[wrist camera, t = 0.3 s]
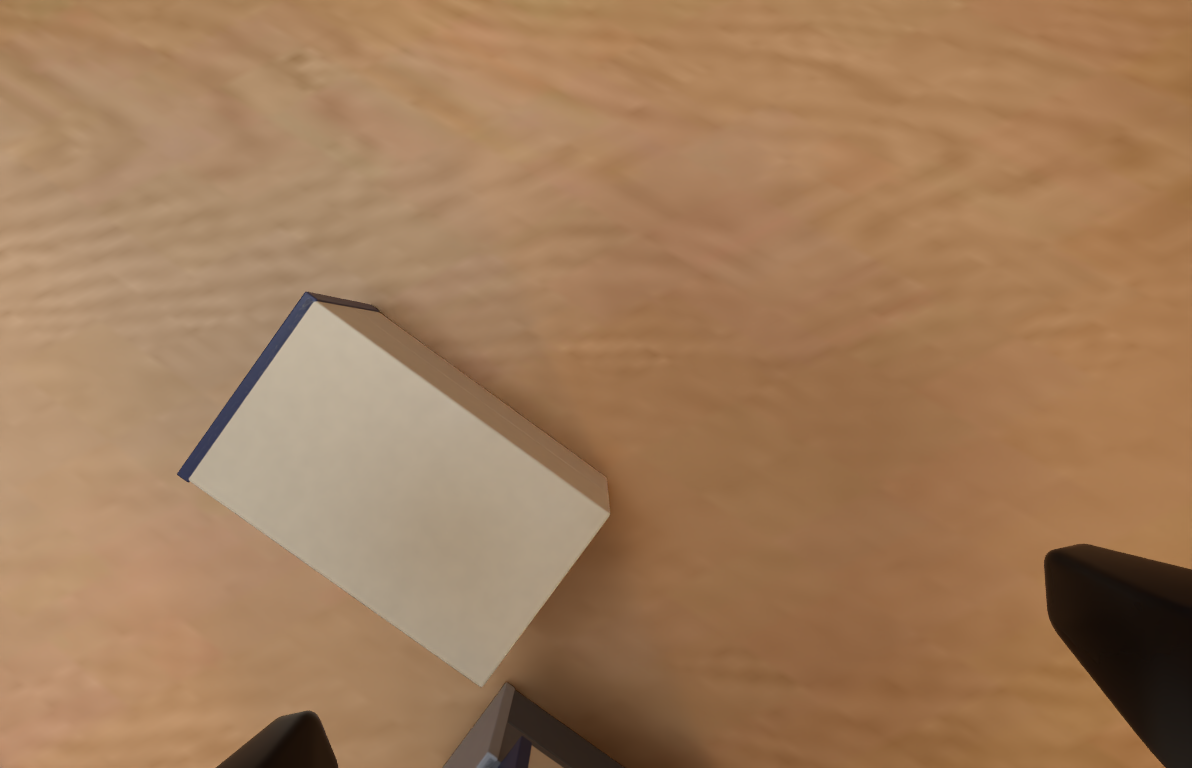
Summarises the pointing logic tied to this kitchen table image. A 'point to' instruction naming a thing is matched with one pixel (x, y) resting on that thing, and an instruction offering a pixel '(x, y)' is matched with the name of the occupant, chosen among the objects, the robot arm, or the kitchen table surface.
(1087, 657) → the robot arm
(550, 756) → the dark grey block
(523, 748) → the cream book
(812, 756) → the kitchen table surface
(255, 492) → the navy and tan block
